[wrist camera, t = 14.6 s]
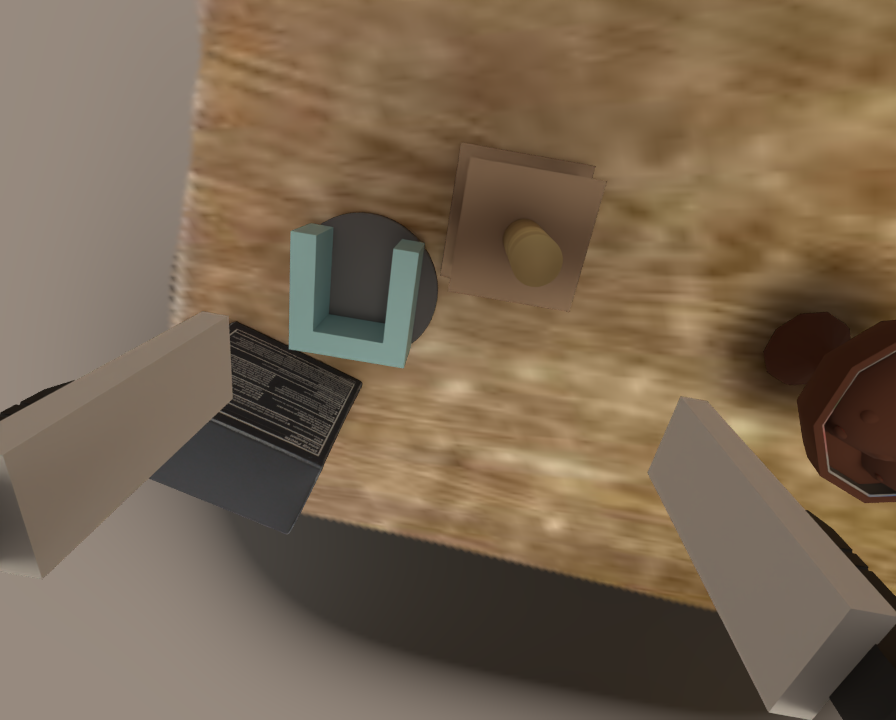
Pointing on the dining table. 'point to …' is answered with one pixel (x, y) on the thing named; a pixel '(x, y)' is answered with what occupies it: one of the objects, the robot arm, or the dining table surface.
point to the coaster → (373, 269)
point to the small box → (265, 433)
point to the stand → (519, 226)
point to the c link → (344, 334)
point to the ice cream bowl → (843, 399)
